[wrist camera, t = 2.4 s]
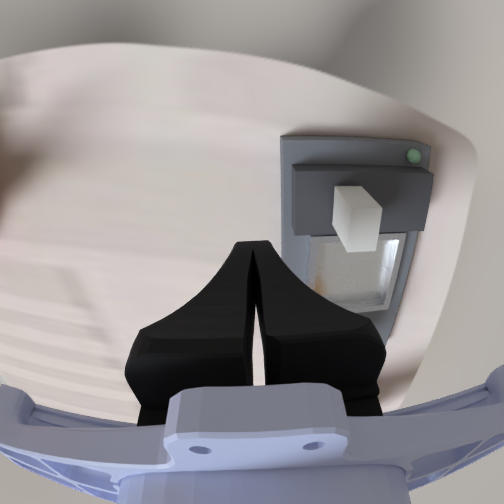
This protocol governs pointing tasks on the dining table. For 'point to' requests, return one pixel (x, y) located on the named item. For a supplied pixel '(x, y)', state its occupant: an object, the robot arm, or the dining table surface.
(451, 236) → the dining table surface
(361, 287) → the frame
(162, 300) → the dining table surface
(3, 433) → the robot arm
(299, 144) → the breaker panel
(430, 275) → the dining table surface
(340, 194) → the lever
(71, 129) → the dining table surface
